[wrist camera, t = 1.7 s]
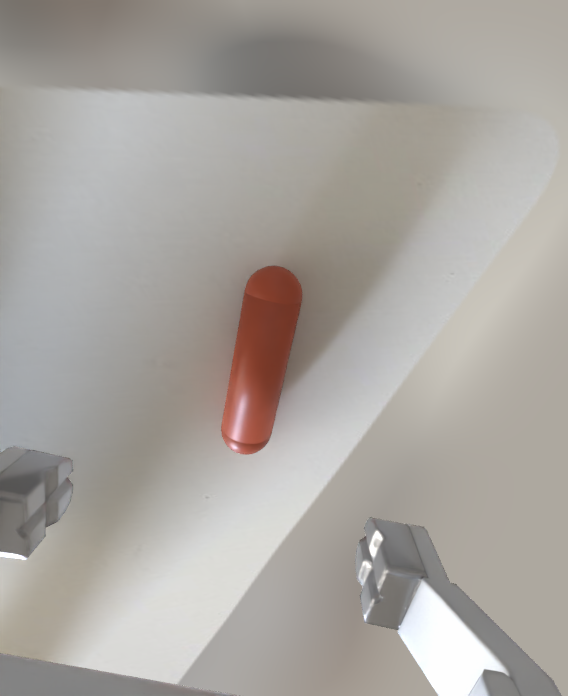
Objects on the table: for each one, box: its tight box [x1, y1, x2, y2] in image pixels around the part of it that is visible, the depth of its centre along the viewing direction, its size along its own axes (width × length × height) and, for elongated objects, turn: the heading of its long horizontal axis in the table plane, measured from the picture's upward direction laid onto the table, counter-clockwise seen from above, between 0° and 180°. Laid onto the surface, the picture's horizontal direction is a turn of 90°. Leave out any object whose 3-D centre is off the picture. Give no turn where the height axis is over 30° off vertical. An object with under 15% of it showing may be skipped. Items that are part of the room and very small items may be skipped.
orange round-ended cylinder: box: [221, 266, 302, 454], centre depth 18 cm, size 10×3×3 cm, turn 168°
